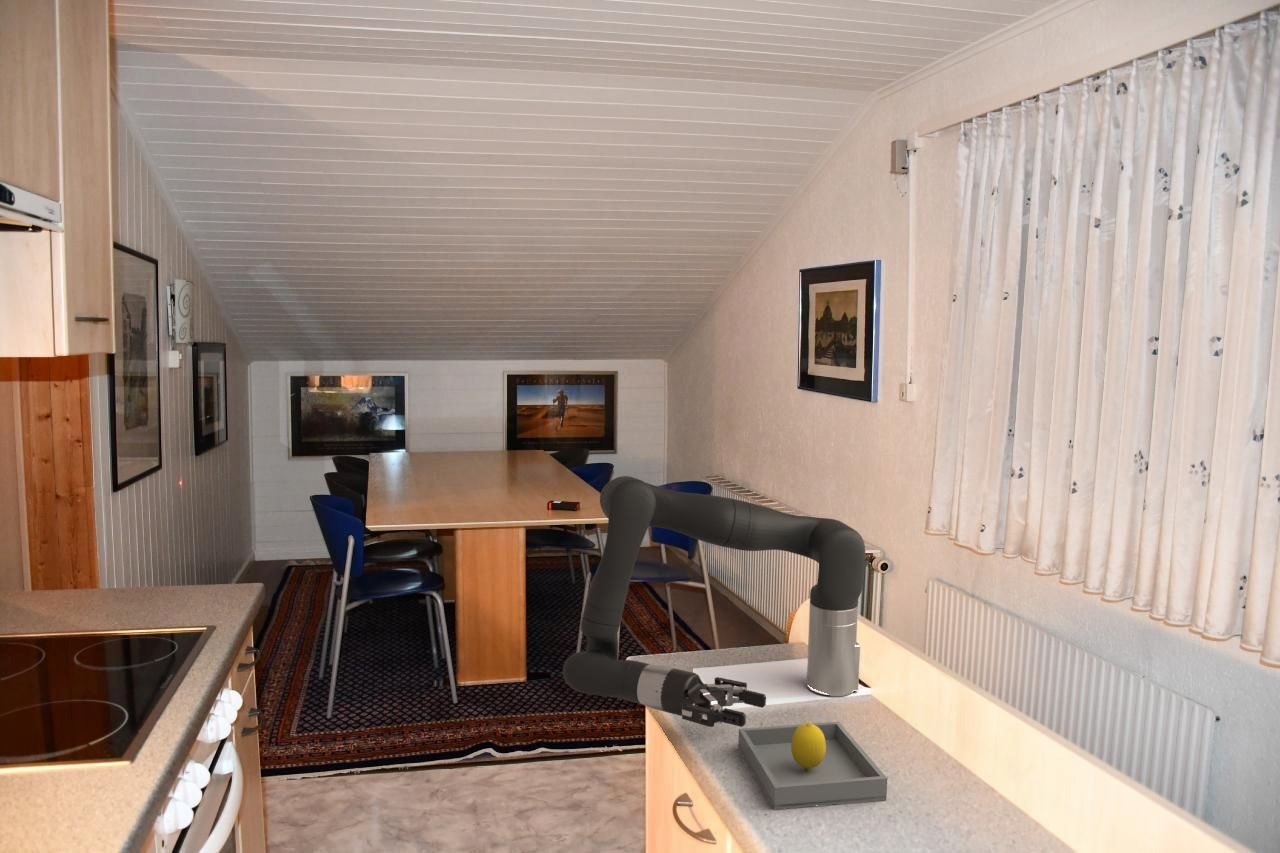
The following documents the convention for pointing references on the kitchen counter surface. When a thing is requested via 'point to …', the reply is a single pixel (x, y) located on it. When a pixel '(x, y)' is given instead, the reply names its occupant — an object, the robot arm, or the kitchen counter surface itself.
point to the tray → (830, 782)
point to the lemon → (808, 746)
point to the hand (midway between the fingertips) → (755, 710)
